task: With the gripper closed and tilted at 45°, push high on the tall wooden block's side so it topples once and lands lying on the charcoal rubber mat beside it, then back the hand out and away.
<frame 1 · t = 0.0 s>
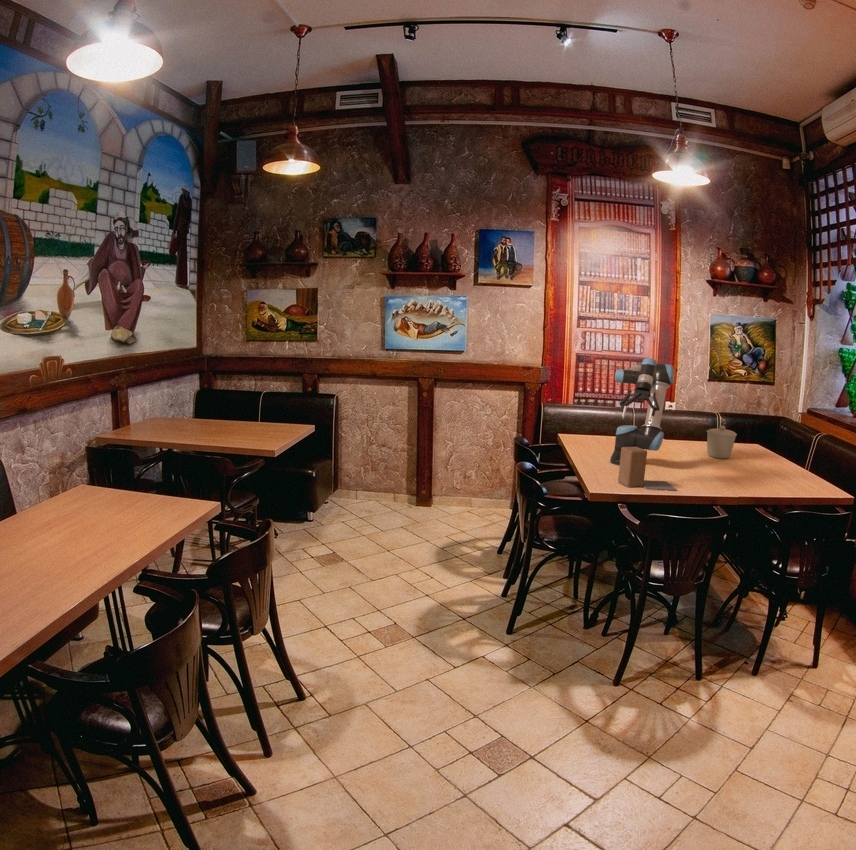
hand: (636, 419, 318), 36 cm above the table, tool tilted 35°, fingers open, 13 cm apart
wooden block: (630, 485, 326), on the table
canister: (718, 457, 399), on the table
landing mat: (656, 485, 326), on the table
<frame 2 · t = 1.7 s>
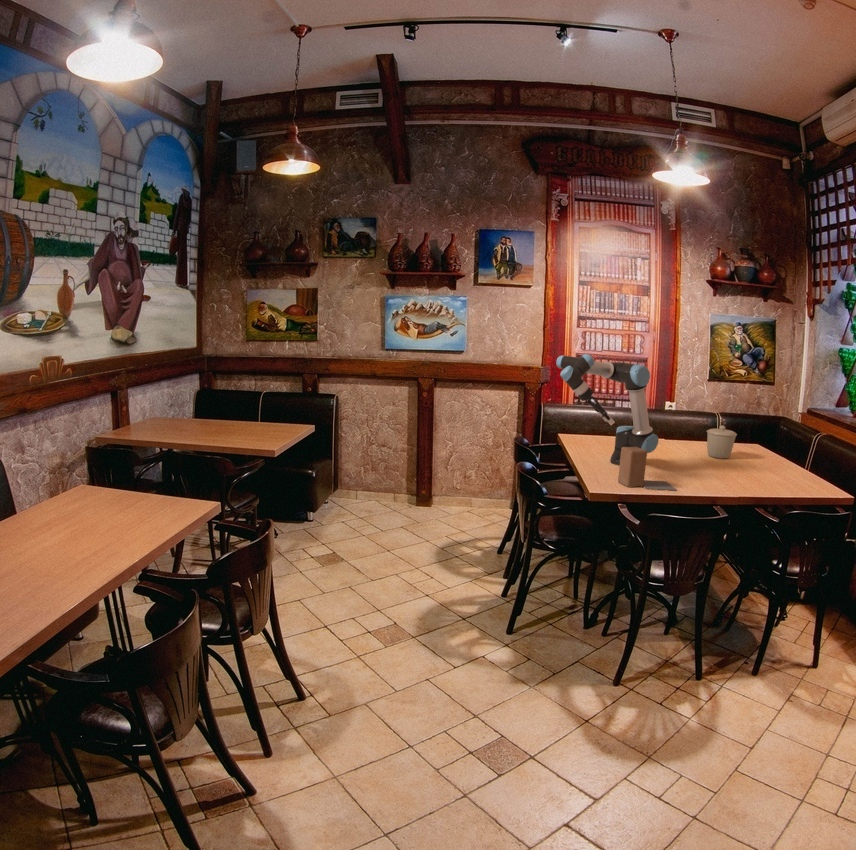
hand: (610, 421, 325), 33 cm above the table, tool tilted 45°, fingers open, 9 cm apart
nothing on the table moved.
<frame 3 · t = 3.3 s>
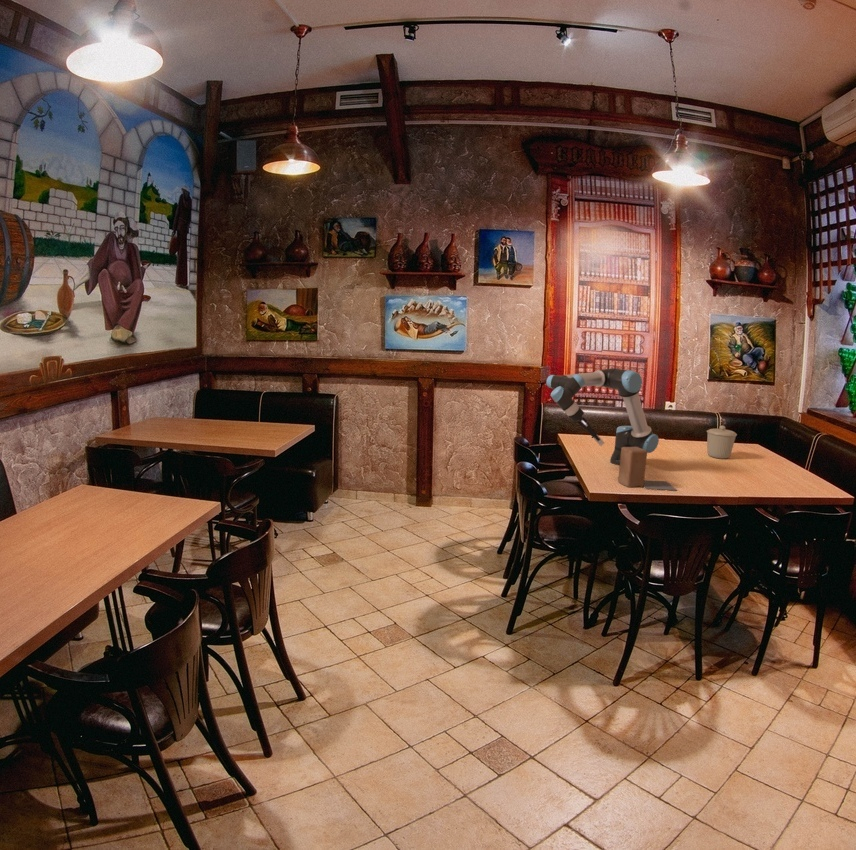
hand: (602, 444, 322), 22 cm above the table, tool tilted 45°, fingers closed
nothing on the table moved.
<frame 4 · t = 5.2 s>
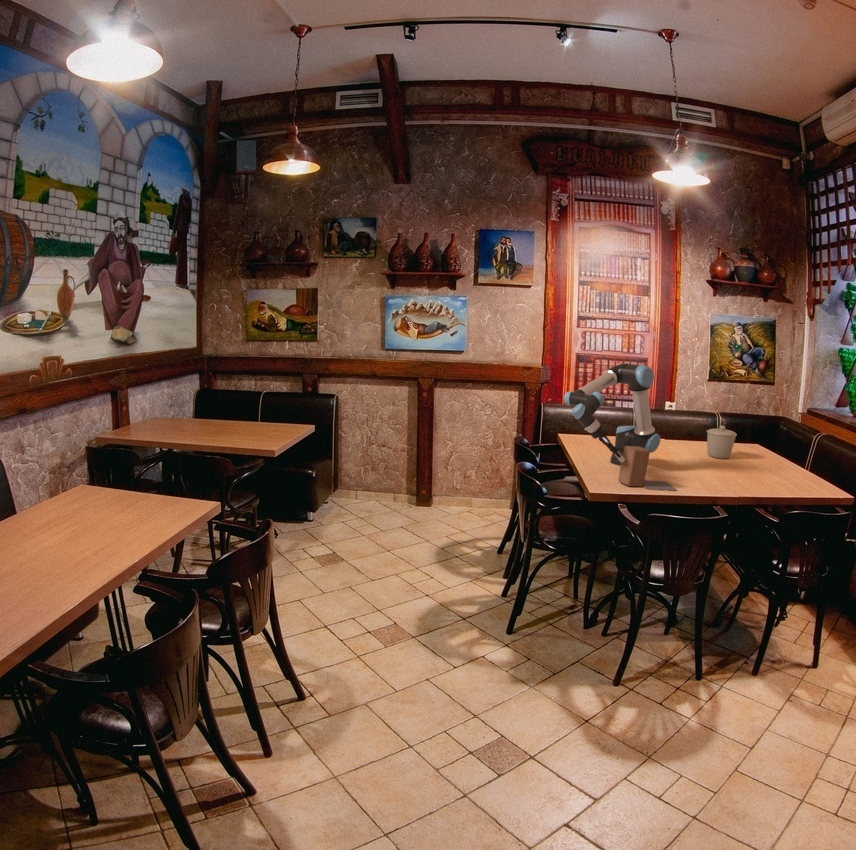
hand: (623, 460, 323), 13 cm above the table, tool tilted 45°, fingers closed
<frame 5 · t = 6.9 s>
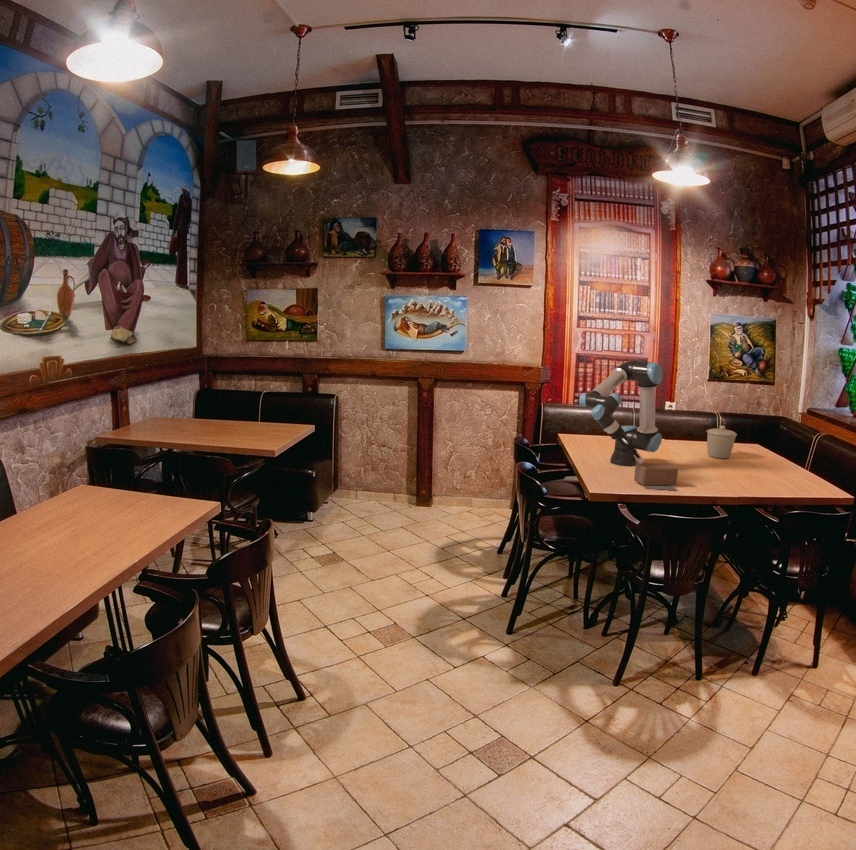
hand: (642, 461, 324), 13 cm above the table, tool tilted 45°, fingers closed
wooden block: (638, 474, 326), point 6 cm above the table, touching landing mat
everything else where it was.
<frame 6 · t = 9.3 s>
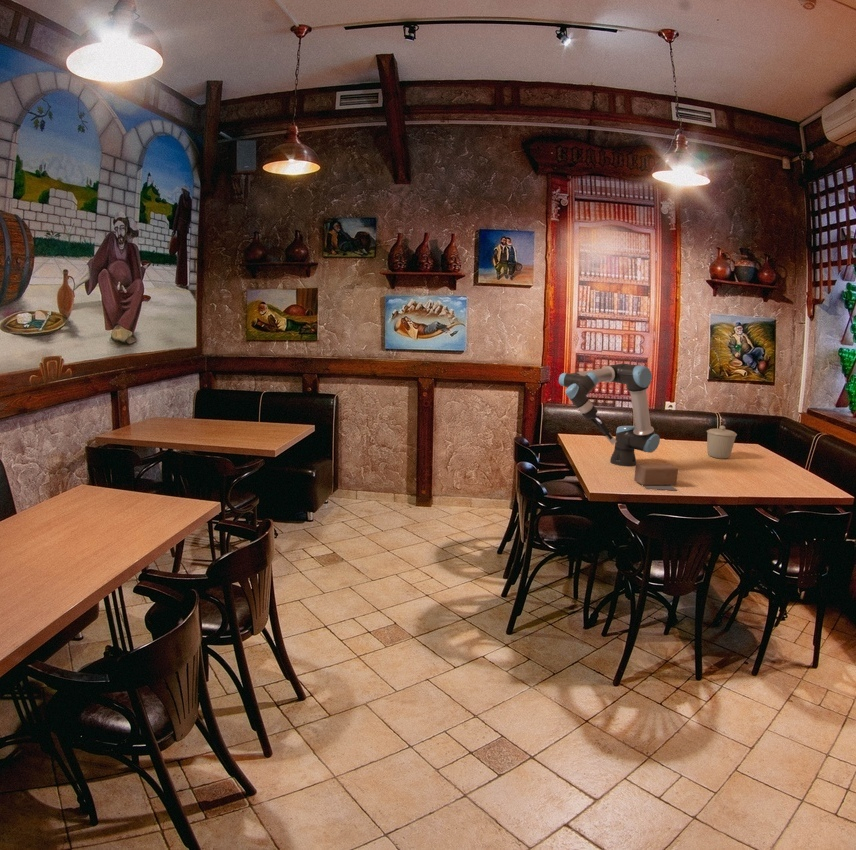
hand: (614, 442, 323), 22 cm above the table, tool tilted 45°, fingers closed
nothing on the table moved.
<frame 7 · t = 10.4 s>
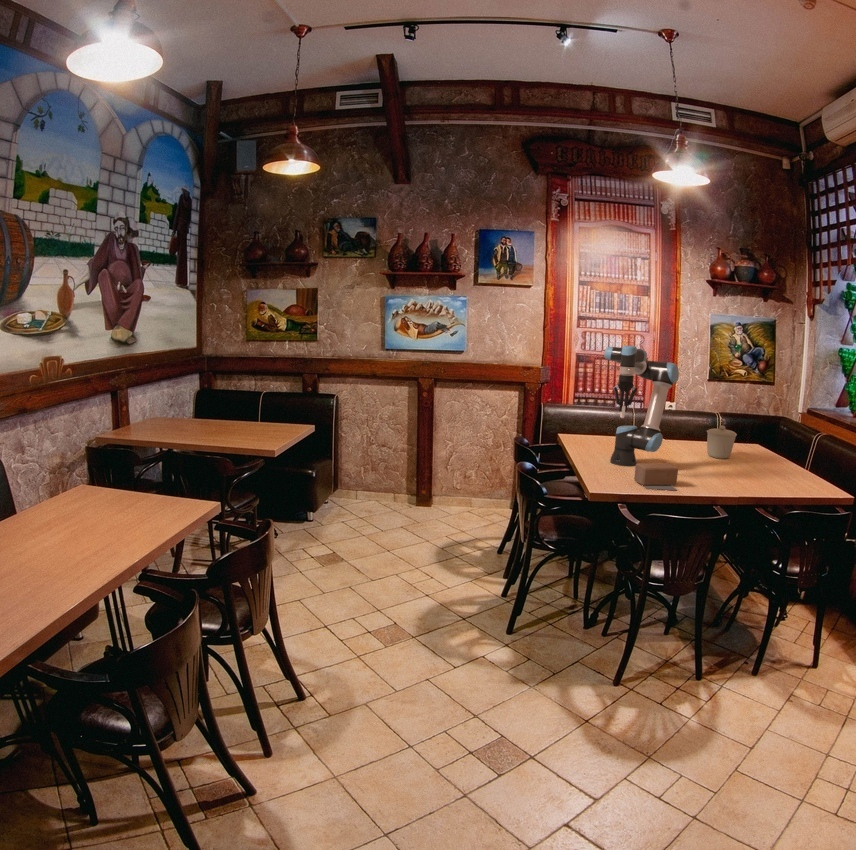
hand: (622, 417, 332), 34 cm above the table, tool pointing down, fingers closed
nothing on the table moved.
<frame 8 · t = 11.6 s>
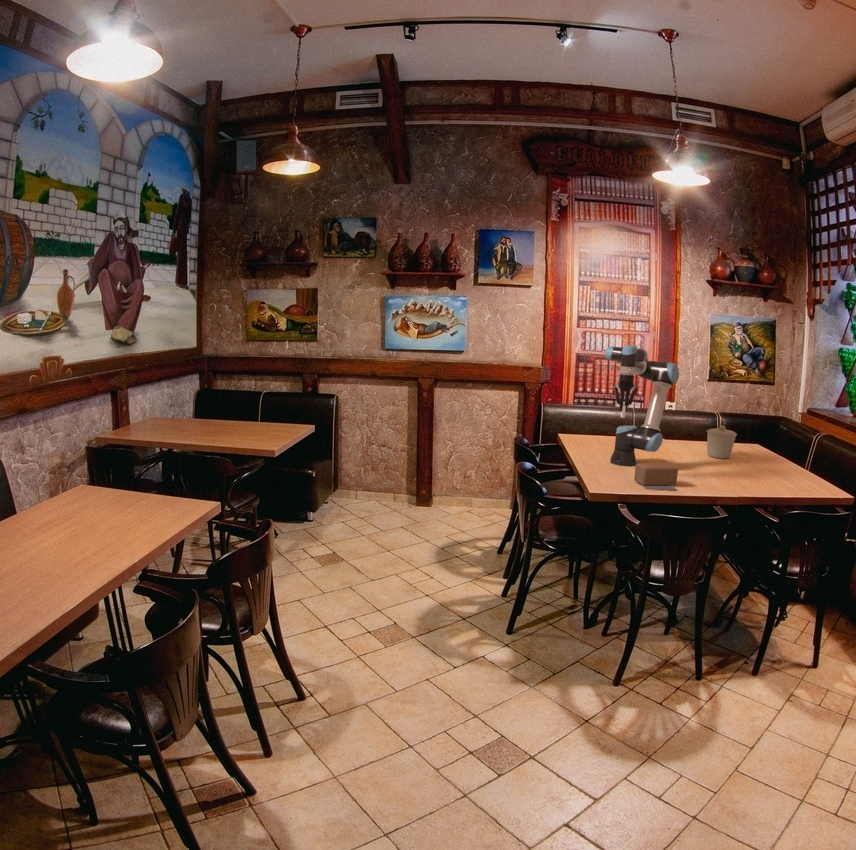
hand: (622, 417, 332), 34 cm above the table, tool pointing down, fingers closed
nothing on the table moved.
at the end: wooden block tilted 90°; wooden block touching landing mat; the gripper is holding nothing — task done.
